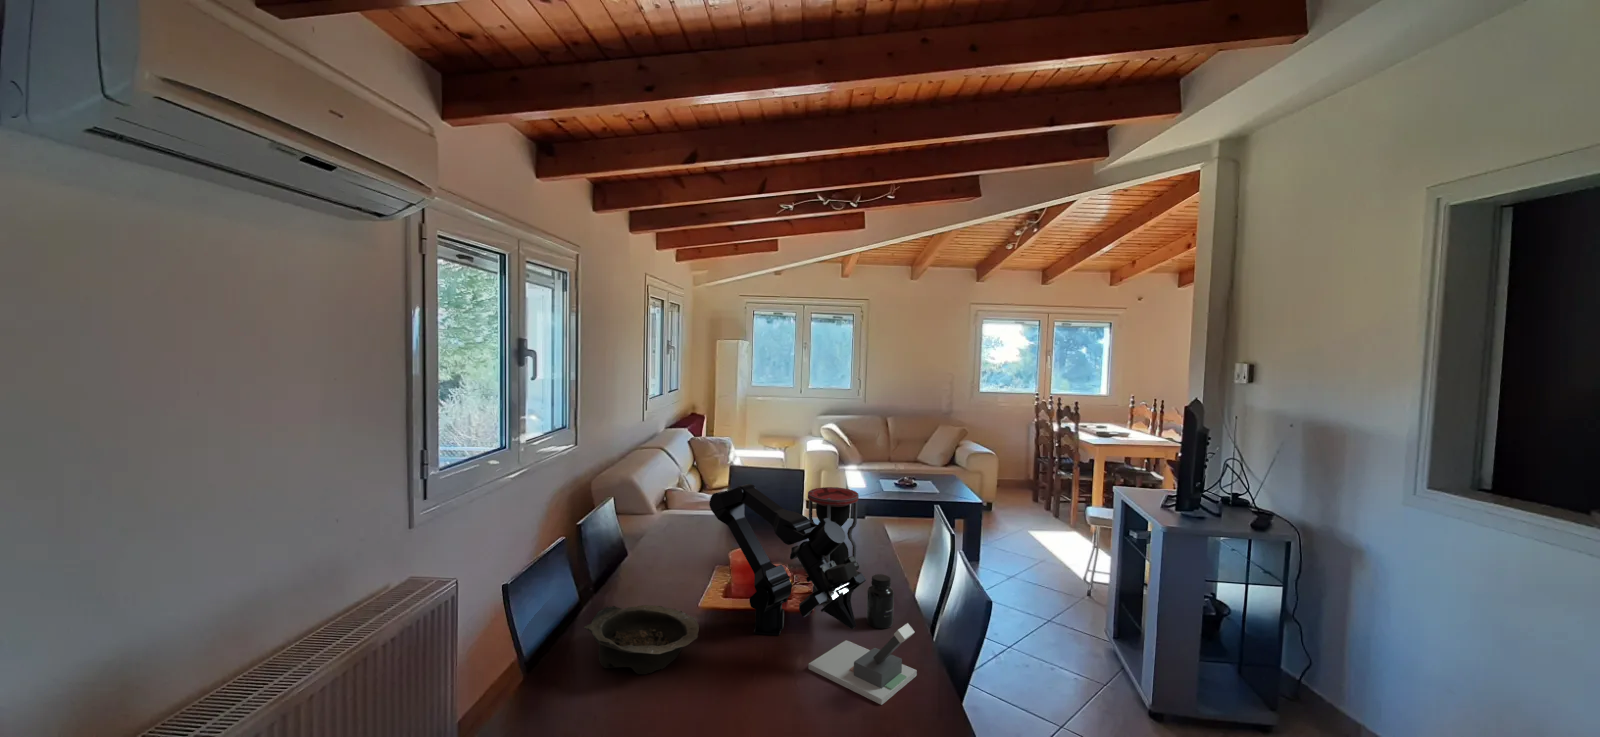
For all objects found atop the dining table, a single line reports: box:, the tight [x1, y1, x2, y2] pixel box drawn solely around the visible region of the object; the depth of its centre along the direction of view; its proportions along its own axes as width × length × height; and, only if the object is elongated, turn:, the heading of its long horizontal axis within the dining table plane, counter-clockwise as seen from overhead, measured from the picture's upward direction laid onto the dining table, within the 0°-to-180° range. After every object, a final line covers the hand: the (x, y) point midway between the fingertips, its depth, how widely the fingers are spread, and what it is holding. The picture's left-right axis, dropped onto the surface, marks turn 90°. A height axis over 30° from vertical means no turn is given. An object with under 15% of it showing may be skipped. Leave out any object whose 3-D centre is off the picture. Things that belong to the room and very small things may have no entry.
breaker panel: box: [808, 640, 918, 706], centre depth 127 cm, size 19×14×4 cm
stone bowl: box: [583, 604, 700, 675], centre depth 132 cm, size 25×25×9 cm
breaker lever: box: [873, 622, 915, 664], centre depth 122 cm, size 2×4×10 cm
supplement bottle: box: [866, 573, 895, 630], centre depth 150 cm, size 7×7×12 cm
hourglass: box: [807, 486, 860, 571], centre depth 184 cm, size 16×16×25 cm
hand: (854, 628), depth 129 cm, fingers closed
